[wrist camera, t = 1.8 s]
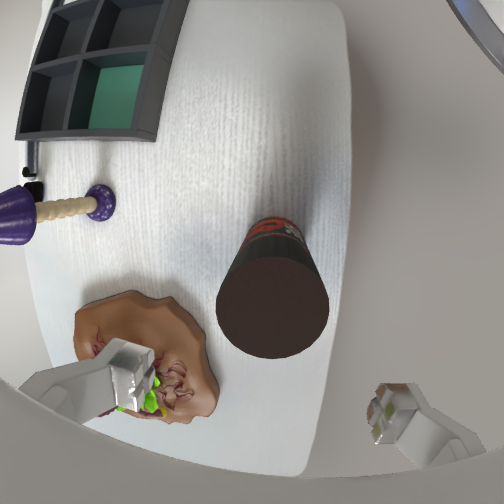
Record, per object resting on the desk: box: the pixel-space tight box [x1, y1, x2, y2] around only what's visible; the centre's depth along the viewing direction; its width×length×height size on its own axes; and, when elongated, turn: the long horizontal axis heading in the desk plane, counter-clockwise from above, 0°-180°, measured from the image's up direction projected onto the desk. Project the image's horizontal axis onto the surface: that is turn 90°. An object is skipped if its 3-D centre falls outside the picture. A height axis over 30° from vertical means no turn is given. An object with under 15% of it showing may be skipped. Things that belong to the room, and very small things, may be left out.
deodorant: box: [216, 217, 329, 359], centre depth 22 cm, size 6×6×15 cm
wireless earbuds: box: [17, 167, 43, 203], centre depth 28 cm, size 7×2×5 cm, turn 174°
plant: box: [73, 291, 219, 424], centre depth 29 cm, size 20×20×11 cm
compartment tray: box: [15, 0, 189, 142], centre depth 23 cm, size 18×18×5 cm
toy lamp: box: [0, 184, 115, 245], centre depth 22 cm, size 5×5×17 cm
